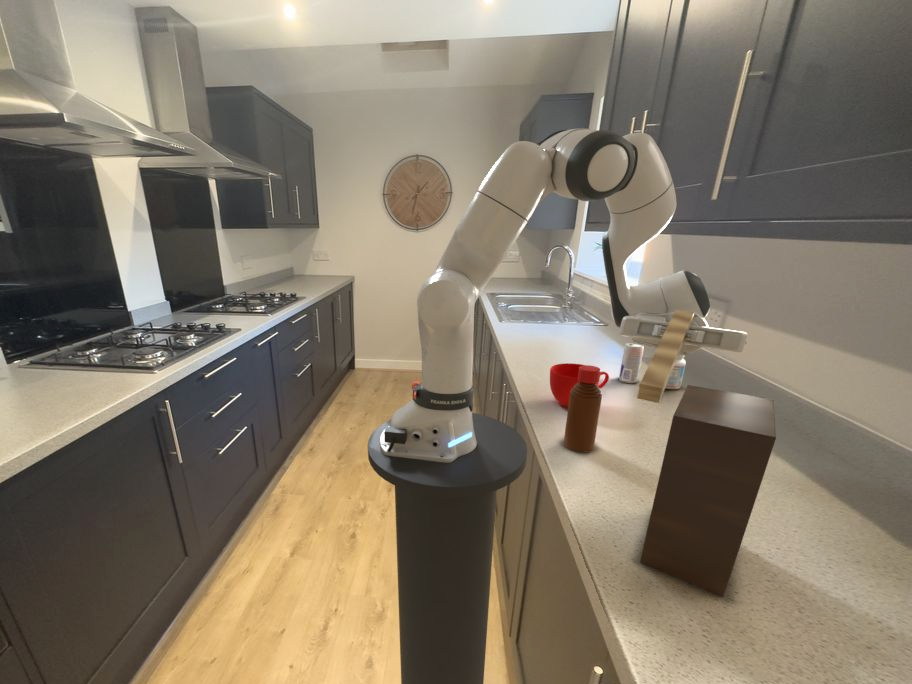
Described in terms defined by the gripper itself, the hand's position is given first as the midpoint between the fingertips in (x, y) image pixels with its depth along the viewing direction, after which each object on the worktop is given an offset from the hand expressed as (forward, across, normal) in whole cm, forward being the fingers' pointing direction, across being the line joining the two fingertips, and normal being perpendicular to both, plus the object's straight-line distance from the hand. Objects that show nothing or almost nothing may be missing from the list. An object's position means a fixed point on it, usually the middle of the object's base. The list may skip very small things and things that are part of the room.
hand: (675, 333), depth 74 cm
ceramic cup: (-33, +21, -24) cm, 46 cm away
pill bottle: (-62, +3, -17) cm, 65 cm away
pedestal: (+15, -10, -32) cm, 37 cm away
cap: (-5, +14, -10) cm, 18 cm away
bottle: (-9, +13, -28) cm, 32 cm away
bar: (+4, 0, -5) cm, 6 cm away
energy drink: (-61, +14, -18) cm, 65 cm away
